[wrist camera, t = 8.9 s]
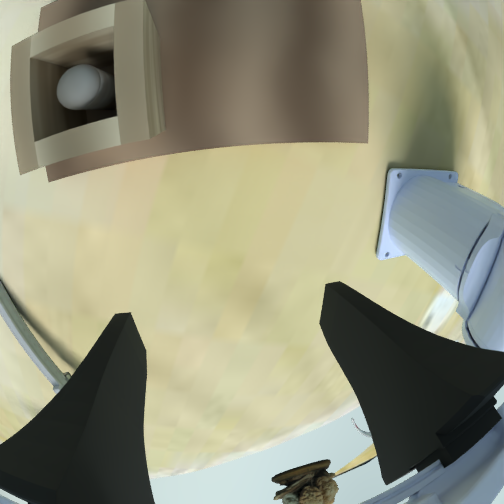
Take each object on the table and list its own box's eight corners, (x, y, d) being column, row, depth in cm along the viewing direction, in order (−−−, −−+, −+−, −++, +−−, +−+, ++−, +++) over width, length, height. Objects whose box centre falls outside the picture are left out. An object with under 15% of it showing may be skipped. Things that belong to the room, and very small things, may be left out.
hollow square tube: (160, 38, 10) (143, -4, 5) (165, 130, 13) (150, 139, 8) (68, 63, 9) (11, 46, 4) (75, 150, 12) (20, 175, 7)
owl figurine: (269, 481, 58) (283, 527, 43) (265, 474, 52) (281, 528, 37) (328, 464, 60) (346, 508, 45) (332, 454, 54) (353, 505, 39)
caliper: (111, 395, 25) (107, 442, 19) (104, 396, 25) (100, 442, 19) (-16, 251, 14) (-53, 293, 9) (-20, 256, 14) (-57, 298, 9)
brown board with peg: (346, -10, 11) (414, -41, 5) (355, 140, 17) (433, 164, 11) (50, 13, 8) (-7, -18, 1) (58, 176, 14) (-6, 219, 7)
